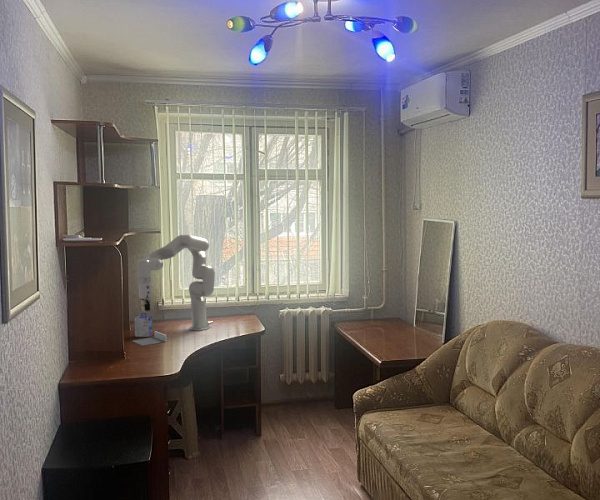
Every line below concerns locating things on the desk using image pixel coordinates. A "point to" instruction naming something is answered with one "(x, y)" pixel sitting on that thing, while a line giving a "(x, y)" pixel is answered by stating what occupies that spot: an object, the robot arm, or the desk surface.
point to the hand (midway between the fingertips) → (145, 309)
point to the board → (147, 341)
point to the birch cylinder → (143, 306)
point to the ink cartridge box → (143, 326)
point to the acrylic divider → (160, 336)
